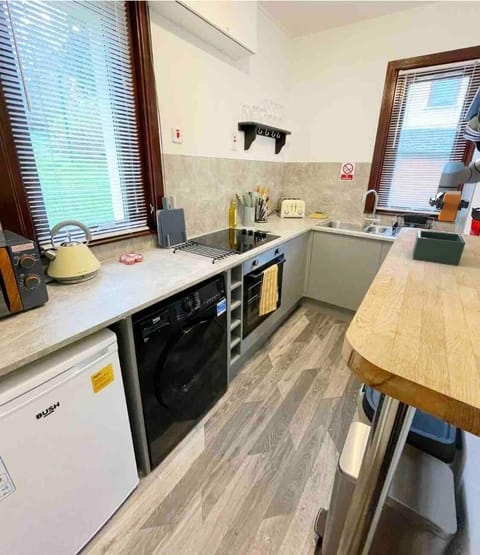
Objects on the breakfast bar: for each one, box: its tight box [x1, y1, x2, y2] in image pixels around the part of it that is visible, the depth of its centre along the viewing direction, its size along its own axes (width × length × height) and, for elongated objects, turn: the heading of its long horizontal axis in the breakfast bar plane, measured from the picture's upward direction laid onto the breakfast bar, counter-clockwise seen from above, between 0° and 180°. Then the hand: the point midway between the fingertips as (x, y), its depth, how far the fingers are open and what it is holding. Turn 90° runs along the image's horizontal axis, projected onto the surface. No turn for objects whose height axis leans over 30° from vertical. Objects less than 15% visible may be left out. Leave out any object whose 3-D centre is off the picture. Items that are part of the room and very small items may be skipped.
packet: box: [437, 190, 462, 222], centre depth 108 cm, size 5×4×11 cm
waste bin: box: [412, 229, 466, 267], centre depth 94 cm, size 13×13×8 cm
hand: (451, 206), depth 104 cm, fingers closed on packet, 5 cm apart
